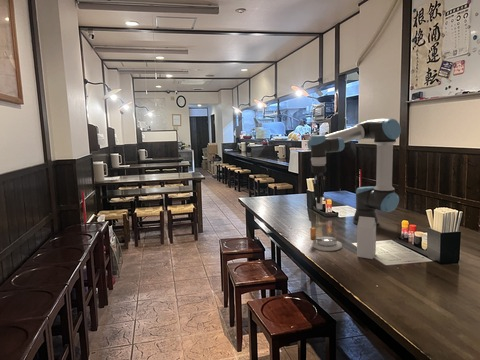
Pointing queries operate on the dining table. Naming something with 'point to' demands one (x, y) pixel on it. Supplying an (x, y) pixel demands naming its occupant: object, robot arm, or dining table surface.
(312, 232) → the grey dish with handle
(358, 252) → the milk carton
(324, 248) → the plate
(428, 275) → the dining table surface
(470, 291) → the dining table surface
